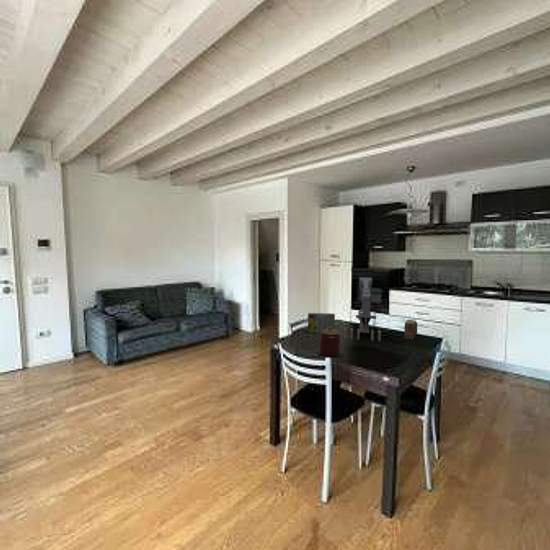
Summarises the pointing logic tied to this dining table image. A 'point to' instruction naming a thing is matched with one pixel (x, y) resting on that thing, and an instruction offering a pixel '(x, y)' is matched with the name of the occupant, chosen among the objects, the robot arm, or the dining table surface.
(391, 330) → the dining table surface
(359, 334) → the domino
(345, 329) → the domino
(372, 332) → the domino
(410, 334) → the stack of blocks
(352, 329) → the domino
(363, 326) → the robot arm
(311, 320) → the snack box
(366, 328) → the terracotta domino
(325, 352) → the canister
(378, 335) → the domino
